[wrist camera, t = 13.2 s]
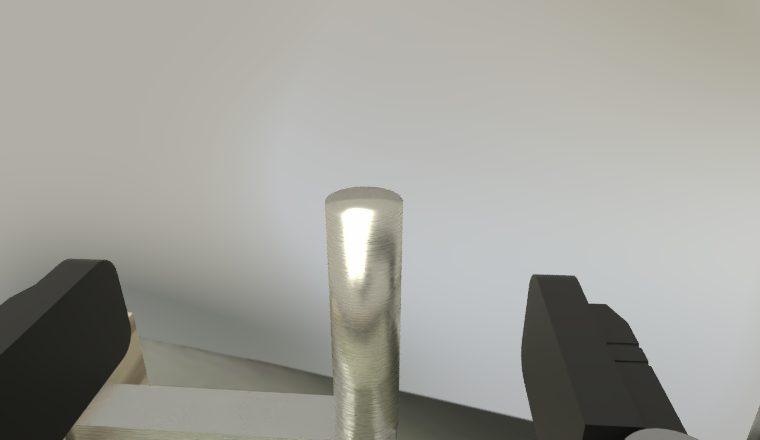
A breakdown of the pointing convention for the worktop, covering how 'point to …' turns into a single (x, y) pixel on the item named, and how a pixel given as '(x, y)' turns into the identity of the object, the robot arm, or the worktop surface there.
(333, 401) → the crank handle
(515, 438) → the worktop surface
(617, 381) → the robot arm
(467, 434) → the worktop surface
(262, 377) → the worktop surface
